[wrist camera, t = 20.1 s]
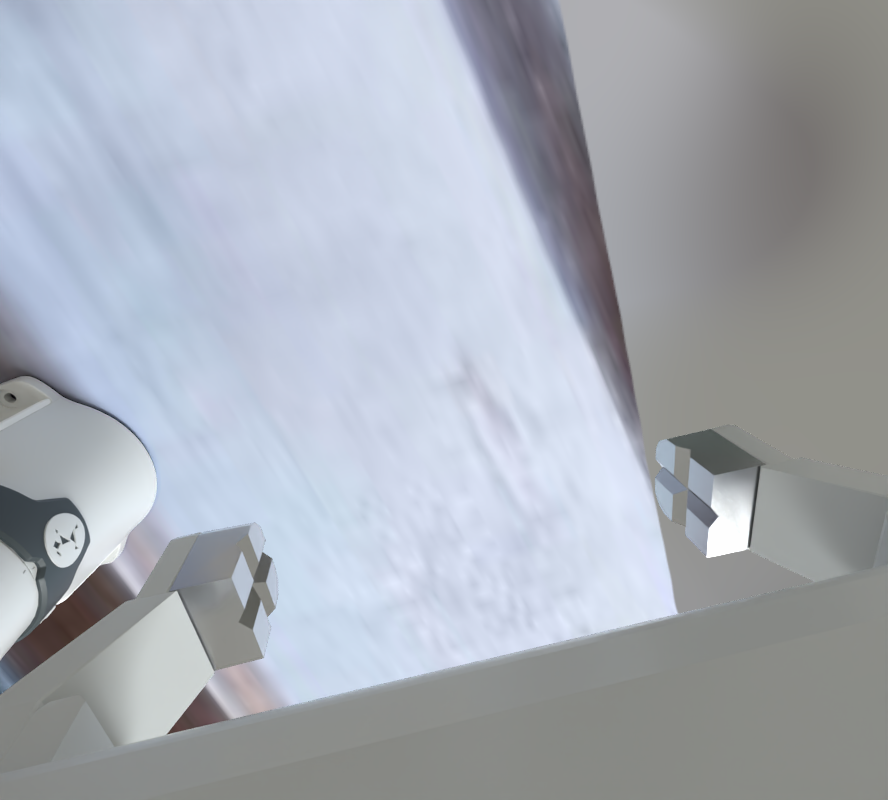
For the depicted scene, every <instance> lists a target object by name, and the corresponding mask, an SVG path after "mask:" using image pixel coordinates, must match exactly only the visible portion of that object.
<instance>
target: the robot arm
mask: <svg viewBox="0 0 888 800" xmlns="http://www.w3.org/2000/svg"><path fill="white" fill-rule="evenodd" d="M10 393H11V394H13V395H14V396H15V397H16V399H14V398H12V397H11V395H10ZM656 460H657V461H658V462H659V464H660V465H661V466H662V469H661V470H660V471H659V473H658V474H657V476H656V477H655V493H656V496H657V499H658V502H659V505H660V507H661V509H662V510H663V512H664V514H665V515H666V516H667V517H668V518H669V519H670V520H671V521H672V522H675V523H678V524H680V525H683V526H685V527H686V531H685V535H686V537H687V538H688V539H689V540H690V541H692V543H693V544H694V545H695V546H696V547H697V548H698V549H699V550H700V551H701V552H702V553H703V554H704V555H705V556H706V557H712V556H717V555H722V554H727V553H732V552H737V551H742V550H747V549H750V551H751V552H753V553H755V554H757V555H759V556H761V557H764V558H765V559H768V560H770V561H772V562H774V563H776V564H778V565H780V566H782V567H785V568H787V569H789V570H791V571H793V572H795V573H797V574H799V575H801V576H804V577H806V578H808V579H810V580H812V581H814V582H812V583H808V584H803V585H800V586H795V587H791V588H787V589H782V590H778V591H774V592H770V593H765V594H761V595H757V596H752V597H749V598H744V599H740V600H736V601H732V602H727V603H723V604H718V605H714V606H710V607H706V608H701V609H697V610H693V611H689V612H684V613H680V614H676V615H672V616H667V617H663V618H659V619H655V620H650V621H646V622H642V623H638V624H633V625H629V626H625V627H621V628H616V629H612V630H608V631H604V632H599V633H595V634H591V635H587V636H583V637H578V638H574V639H570V640H566V641H562V642H557V643H553V644H549V645H545V646H541V647H536V648H532V649H528V650H524V651H520V652H515V653H511V654H507V655H503V656H499V657H494V658H490V659H486V660H482V661H477V662H473V663H469V664H465V665H460V666H456V667H452V668H448V669H444V670H439V671H435V672H431V673H427V674H422V675H418V676H414V677H410V678H405V679H401V680H397V681H393V682H388V683H384V684H380V685H376V686H371V687H367V688H363V689H359V690H354V691H350V692H346V693H342V694H337V695H333V696H329V697H325V698H320V699H316V700H312V701H308V702H303V703H299V704H295V705H291V706H286V707H282V708H278V709H274V710H270V711H265V712H261V713H257V714H253V715H248V716H244V717H240V718H236V719H231V720H227V721H223V722H219V723H214V724H210V725H206V726H202V727H197V728H193V729H189V730H185V731H180V732H176V733H172V734H168V735H166V734H167V733H168V732H169V730H170V729H171V728H172V727H173V725H174V724H175V723H176V722H177V720H178V719H179V718H180V717H181V715H182V714H183V713H184V712H185V710H186V709H187V708H188V706H189V705H190V704H191V703H192V701H193V700H194V699H195V698H196V696H197V695H198V694H199V693H200V691H201V690H202V689H203V688H204V686H205V685H206V684H207V683H208V681H209V680H210V679H211V678H212V676H213V675H214V674H215V672H214V671H215V670H219V669H223V668H227V667H231V666H235V665H238V664H242V663H246V662H250V661H254V660H258V659H262V658H264V655H265V651H266V647H267V643H268V638H269V634H270V630H271V626H270V623H269V620H268V618H267V617H268V616H269V615H270V614H271V613H272V612H273V610H274V609H275V608H276V604H277V599H278V578H277V573H276V568H275V565H274V562H273V559H272V558H271V557H269V556H268V555H266V554H265V553H263V552H262V551H263V548H264V544H265V541H266V540H265V537H264V535H263V532H262V529H261V527H260V526H259V525H258V524H257V523H250V524H245V525H239V526H234V527H228V528H223V529H217V530H212V531H207V532H203V533H195V534H191V535H186V536H181V537H177V538H175V539H173V540H171V541H170V543H169V544H168V546H167V548H166V549H165V551H164V553H163V554H162V556H161V558H160V559H159V561H158V563H157V564H156V566H155V568H154V569H153V571H152V572H151V574H150V576H149V577H148V579H147V581H146V582H145V584H144V586H143V587H142V589H141V591H140V592H139V594H138V596H137V597H136V599H134V600H130V601H126V602H125V603H123V604H122V605H120V606H119V607H118V608H116V609H115V610H114V611H112V612H111V613H110V614H108V615H107V616H106V617H104V618H103V619H102V620H100V621H99V622H98V623H96V624H95V625H93V626H92V627H91V628H89V629H88V630H87V631H85V632H84V633H83V634H81V635H80V636H79V637H77V638H76V639H75V640H73V641H72V642H71V643H69V644H68V645H67V646H65V647H64V648H62V649H61V650H60V651H58V652H57V653H56V654H54V655H53V656H52V657H50V658H49V659H48V660H46V661H45V662H44V663H42V664H41V665H40V666H38V667H37V668H36V669H34V670H33V671H31V672H30V673H29V674H27V675H26V676H25V677H23V678H22V679H21V680H19V681H18V682H17V683H15V684H14V685H13V686H11V687H10V688H9V689H7V690H6V691H5V692H3V693H2V694H0V800H888V476H887V475H882V474H877V473H872V472H868V471H863V470H858V469H853V468H849V467H843V466H839V465H834V464H830V463H825V462H820V461H815V460H811V459H806V458H797V459H793V458H791V457H789V456H788V455H786V454H784V453H783V452H781V451H779V450H777V449H776V448H774V447H772V446H771V445H769V444H767V443H765V442H763V441H762V440H760V439H758V438H757V437H755V436H753V435H752V434H750V433H748V432H746V431H745V430H743V429H741V428H739V427H738V426H736V425H724V426H720V427H716V428H712V429H707V430H705V431H700V432H696V433H691V434H687V435H683V436H678V437H674V438H669V439H665V440H661V441H659V443H658V445H657V448H656ZM156 491H157V478H156V472H155V468H154V465H153V462H152V460H151V458H150V456H149V454H148V452H147V451H146V449H145V448H144V446H143V445H142V443H141V442H140V441H139V440H138V439H137V437H136V436H135V435H134V434H133V433H132V432H131V431H129V430H128V429H127V428H126V427H125V426H123V425H122V424H121V423H119V422H118V421H117V420H115V419H113V418H112V417H110V416H108V415H106V414H104V413H102V412H100V411H98V410H96V409H93V408H91V407H88V406H85V405H82V404H79V403H76V402H73V401H71V400H68V399H66V398H64V397H62V396H61V395H60V394H58V393H57V392H56V391H54V390H53V389H52V388H50V387H49V386H47V385H46V384H44V383H43V382H41V381H39V380H38V379H35V378H33V377H29V376H21V377H18V378H15V379H12V380H9V381H7V382H4V383H1V384H0V660H1V659H2V657H3V656H4V655H5V654H6V653H7V651H8V650H9V649H10V648H11V646H12V645H13V644H15V643H16V642H18V641H20V640H22V639H23V638H24V637H26V636H27V635H28V634H30V633H31V632H32V631H33V630H34V629H35V628H36V627H37V626H38V624H39V623H41V622H42V621H43V620H44V619H46V618H47V617H48V616H49V614H50V613H51V612H52V611H53V610H54V609H55V605H56V604H59V603H61V602H63V601H64V600H66V599H67V598H68V597H69V596H70V595H71V594H72V593H73V592H74V591H75V590H76V589H77V588H78V587H79V586H80V585H81V584H82V583H83V582H84V581H85V580H86V579H87V578H88V577H89V576H90V575H91V574H92V573H93V572H94V571H95V570H96V568H97V567H98V566H99V565H100V564H108V563H111V562H113V561H114V560H115V559H116V558H117V557H118V556H119V555H120V554H121V553H122V551H123V549H124V546H125V543H126V540H127V537H128V534H129V533H130V532H131V531H132V530H133V529H134V528H135V527H136V526H137V525H138V524H139V523H140V522H141V521H142V520H143V519H144V518H145V517H146V515H147V514H148V513H149V511H150V509H151V507H152V505H153V503H154V500H155V497H156Z"/></svg>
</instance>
